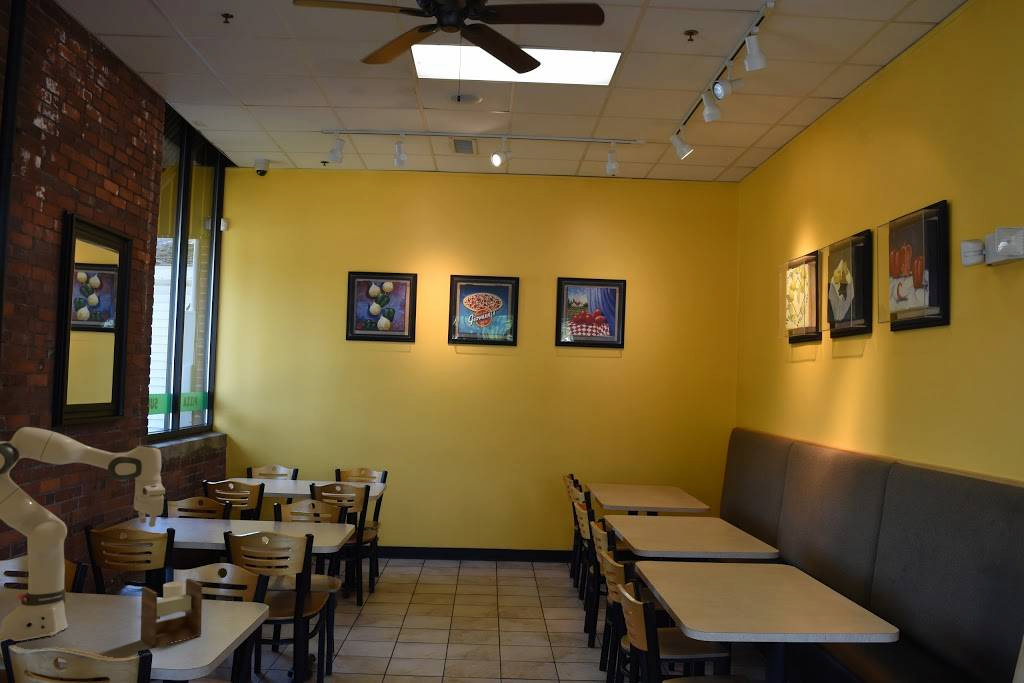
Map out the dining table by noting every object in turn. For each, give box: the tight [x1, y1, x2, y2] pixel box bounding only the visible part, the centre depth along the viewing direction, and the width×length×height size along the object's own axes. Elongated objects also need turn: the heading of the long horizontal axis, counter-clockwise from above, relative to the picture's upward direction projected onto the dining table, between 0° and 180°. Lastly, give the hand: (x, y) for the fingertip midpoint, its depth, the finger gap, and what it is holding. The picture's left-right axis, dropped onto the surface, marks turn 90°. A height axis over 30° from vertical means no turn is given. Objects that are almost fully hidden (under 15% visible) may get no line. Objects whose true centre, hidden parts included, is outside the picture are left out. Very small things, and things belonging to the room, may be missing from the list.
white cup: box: [162, 580, 186, 599], centre depth 294 cm, size 8×8×10 cm
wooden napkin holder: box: [140, 578, 203, 649], centre depth 263 cm, size 16×11×18 cm
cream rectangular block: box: [157, 593, 191, 617], centre depth 263 cm, size 12×4×4 cm, turn 135°
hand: (147, 524), depth 285 cm, fingers open, 8 cm apart
